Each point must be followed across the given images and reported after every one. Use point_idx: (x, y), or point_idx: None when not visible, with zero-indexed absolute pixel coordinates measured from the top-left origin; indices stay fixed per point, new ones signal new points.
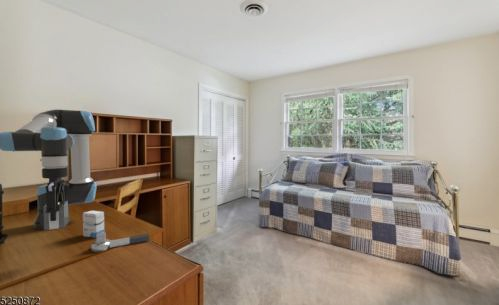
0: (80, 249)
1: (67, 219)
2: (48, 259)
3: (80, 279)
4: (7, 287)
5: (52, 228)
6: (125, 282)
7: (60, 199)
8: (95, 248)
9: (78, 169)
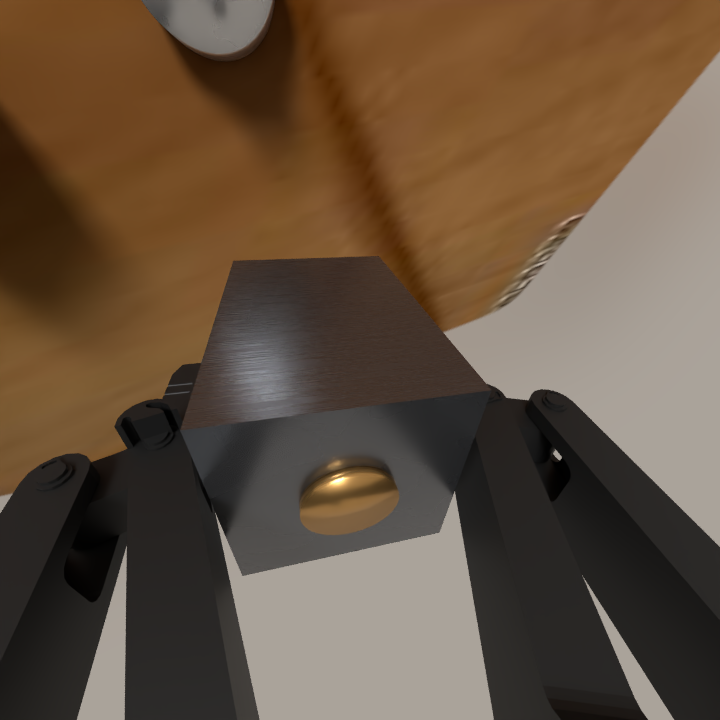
0: (192, 148)
1: (269, 274)
2: None
3: (559, 89)
4: (440, 328)
5: None
6: None
7: (208, 545)
8: (269, 17)
9: None
